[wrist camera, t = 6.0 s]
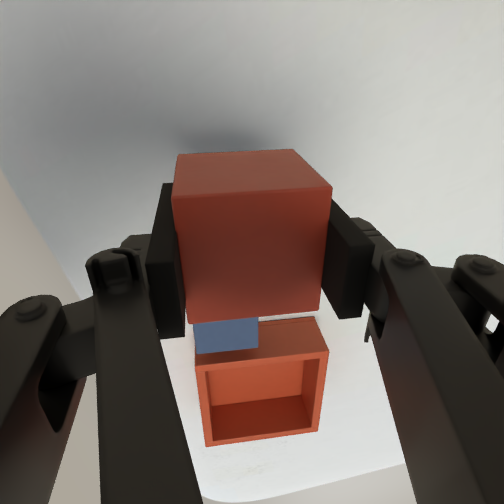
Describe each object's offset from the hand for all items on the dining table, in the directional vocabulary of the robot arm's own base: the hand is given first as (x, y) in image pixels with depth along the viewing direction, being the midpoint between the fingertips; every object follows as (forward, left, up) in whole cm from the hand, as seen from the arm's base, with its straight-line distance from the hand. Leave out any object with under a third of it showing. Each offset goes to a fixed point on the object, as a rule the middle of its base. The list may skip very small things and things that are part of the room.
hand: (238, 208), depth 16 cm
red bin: (+22, +2, -11) cm, 25 cm away
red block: (0, 0, 0) cm, 0 cm away
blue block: (+12, -1, -11) cm, 16 cm away
